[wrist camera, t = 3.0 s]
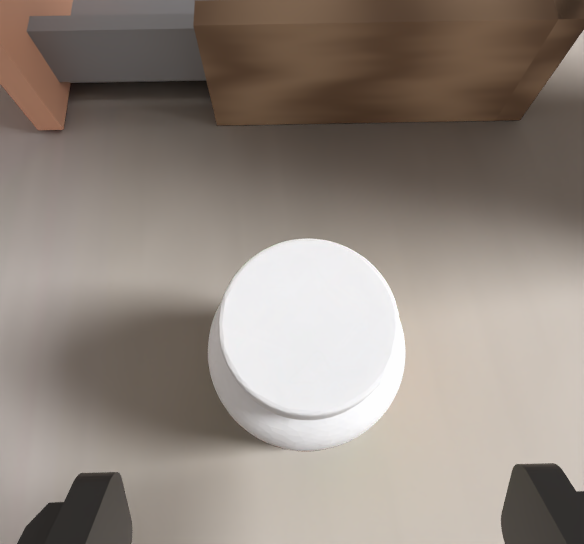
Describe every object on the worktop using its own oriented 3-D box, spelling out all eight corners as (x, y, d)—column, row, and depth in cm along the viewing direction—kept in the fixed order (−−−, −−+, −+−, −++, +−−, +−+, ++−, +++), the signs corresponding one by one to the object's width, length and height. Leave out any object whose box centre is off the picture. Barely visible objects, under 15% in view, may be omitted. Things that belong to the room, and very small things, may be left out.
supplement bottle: (311, 480, 19) (329, 516, 9) (206, 386, 20) (131, 337, 11) (395, 369, 20) (483, 306, 11) (293, 287, 21) (293, 167, 12)
